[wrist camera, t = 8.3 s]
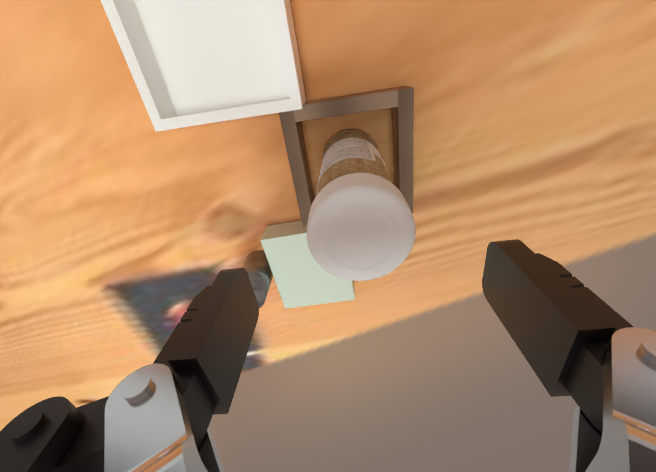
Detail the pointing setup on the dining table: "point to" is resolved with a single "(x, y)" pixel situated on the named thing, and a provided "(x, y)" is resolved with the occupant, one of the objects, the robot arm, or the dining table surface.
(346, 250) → the sprinkles bottle
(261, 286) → the cylinder
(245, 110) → the tray
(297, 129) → the socket block
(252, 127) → the dining table surface
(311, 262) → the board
